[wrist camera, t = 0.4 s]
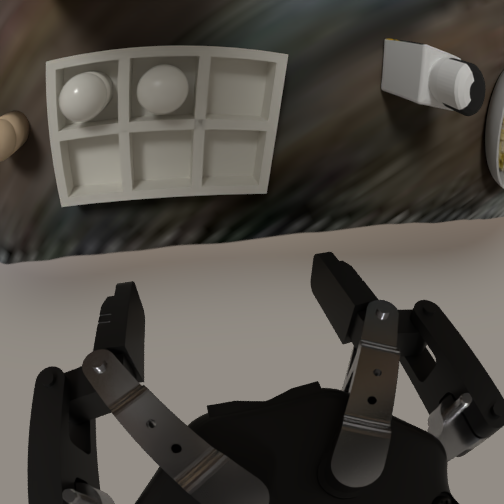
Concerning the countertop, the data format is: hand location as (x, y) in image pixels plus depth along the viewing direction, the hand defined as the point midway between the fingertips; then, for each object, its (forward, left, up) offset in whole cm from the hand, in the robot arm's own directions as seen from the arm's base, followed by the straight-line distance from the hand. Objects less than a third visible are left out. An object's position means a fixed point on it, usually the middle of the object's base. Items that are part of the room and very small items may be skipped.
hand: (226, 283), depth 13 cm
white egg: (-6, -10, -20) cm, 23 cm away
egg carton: (-2, -3, -21) cm, 21 cm away
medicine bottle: (-12, +25, -21) cm, 35 cm away
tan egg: (-3, -20, -21) cm, 29 cm away
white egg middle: (-6, -3, -20) cm, 21 cm away
